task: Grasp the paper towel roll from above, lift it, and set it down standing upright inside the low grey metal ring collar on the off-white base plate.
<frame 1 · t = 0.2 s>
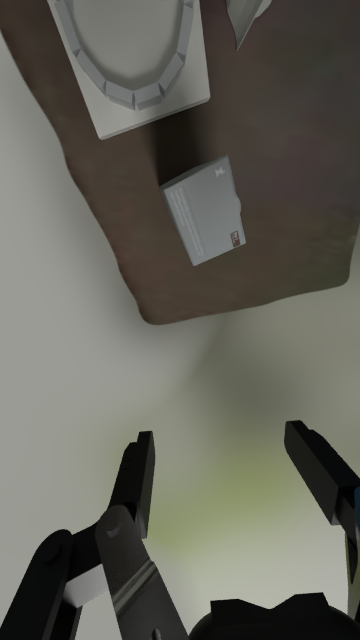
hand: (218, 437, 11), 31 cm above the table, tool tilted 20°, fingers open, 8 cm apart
skincare box: (189, 205, 32), on the table
collar socket: (131, 29, 21), on the table
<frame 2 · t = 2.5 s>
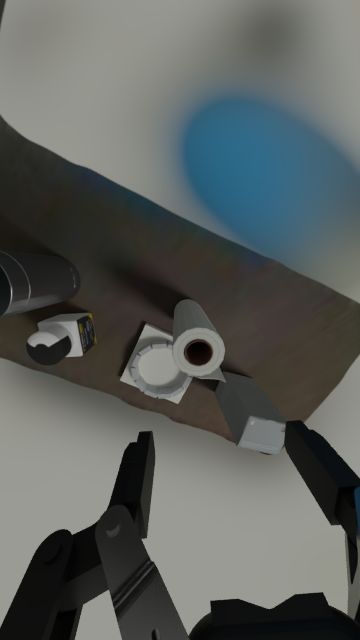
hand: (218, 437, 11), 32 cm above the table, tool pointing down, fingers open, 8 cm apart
skincare box: (234, 383, 47), on the table
medicine bottle: (79, 328, 43), on the table
collar socket: (163, 363, 45), on the table
paper towel roll: (187, 314, 42), on the table
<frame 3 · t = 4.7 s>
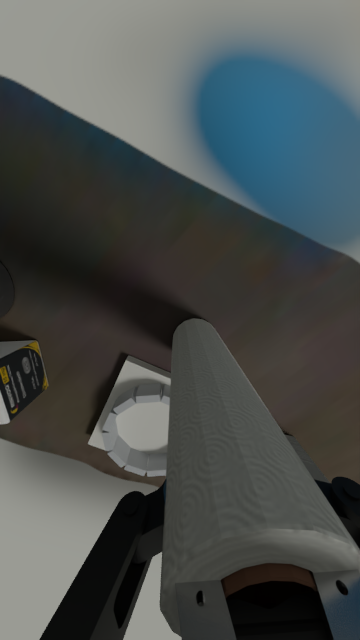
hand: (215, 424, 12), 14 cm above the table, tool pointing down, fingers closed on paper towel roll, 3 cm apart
skincare box: (265, 443, 31), on the table
medicine bottle: (19, 364, 27), on the table
collar socket: (156, 415, 29), on the table
paper towel roll: (194, 342, 26), on the table, touching gripper
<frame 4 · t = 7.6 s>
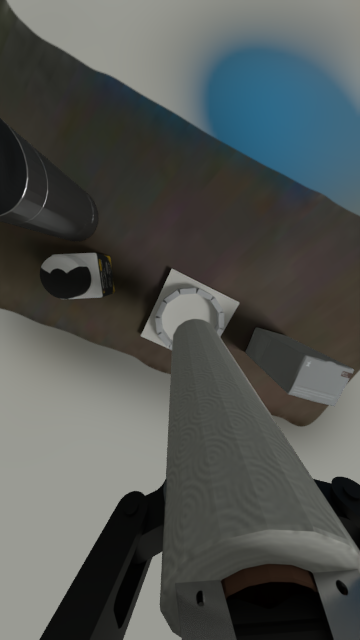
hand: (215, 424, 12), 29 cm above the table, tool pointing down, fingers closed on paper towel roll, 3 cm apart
skincare box: (267, 342, 42), on the table
medicine bottle: (95, 275, 38), on the table
collar socket: (188, 317, 40), on the table
paper towel roll: (194, 342, 26), point 14 cm above the table, touching gripper
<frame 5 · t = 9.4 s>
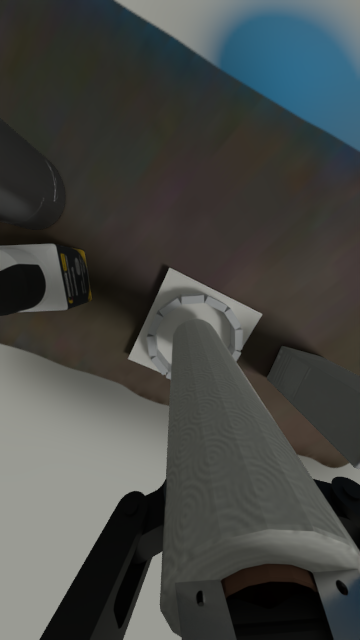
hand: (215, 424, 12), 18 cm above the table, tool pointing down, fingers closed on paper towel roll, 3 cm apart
skincare box: (295, 365, 32), on the table
medicine bottle: (65, 277, 28), on the table
collar socket: (192, 333, 30), on the table
paper towel roll: (194, 342, 26), point 4 cm above the table, touching gripper
when the fingers open (16 cm above the table, at t = 10.6 s): paper towel roll stays where it is, resting on collar socket.
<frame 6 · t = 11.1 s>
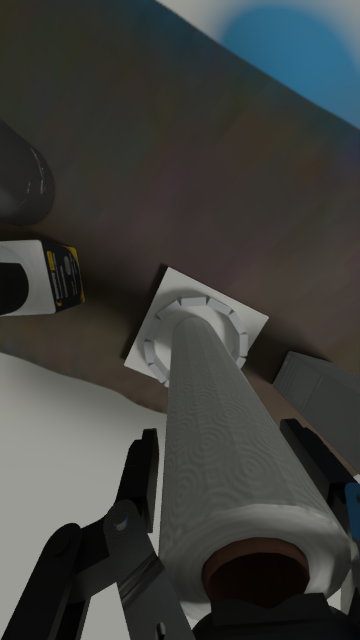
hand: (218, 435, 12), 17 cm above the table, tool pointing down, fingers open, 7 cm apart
skincare box: (303, 371, 30), on the table
medicine bottle: (55, 277, 26), on the table
collar socket: (193, 338, 28), on the table
paper towel roll: (193, 340, 27), point 1 cm above the table, touching collar socket
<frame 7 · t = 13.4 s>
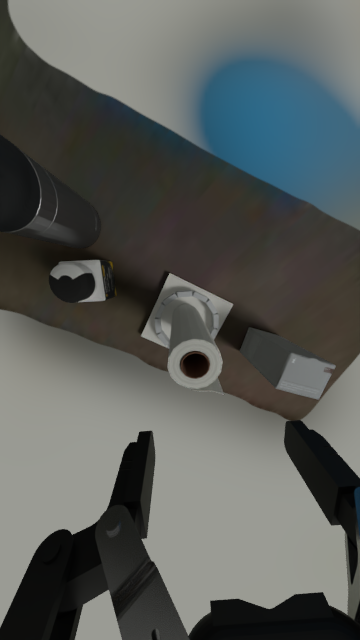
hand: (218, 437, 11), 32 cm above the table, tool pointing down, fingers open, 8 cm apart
skincare box: (260, 341, 45), on the table
medicine bottle: (98, 279, 41), on the table
collar socket: (186, 318, 43), on the table
paper towel roll: (186, 320, 42), point 1 cm above the table, touching collar socket
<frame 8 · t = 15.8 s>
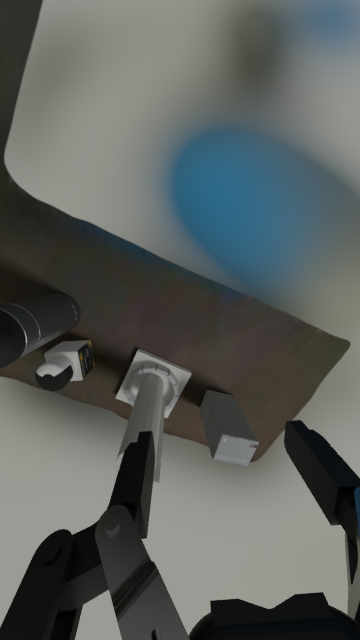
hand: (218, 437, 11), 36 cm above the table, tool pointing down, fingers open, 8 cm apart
skincare box: (217, 399, 53), on the table
medicine bottle: (79, 353, 49), on the table
collar socket: (153, 382, 51), on the table
paper towel roll: (152, 385, 50), point 1 cm above the table, touching collar socket
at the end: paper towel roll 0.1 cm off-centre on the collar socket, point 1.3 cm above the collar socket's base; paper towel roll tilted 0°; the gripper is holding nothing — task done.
